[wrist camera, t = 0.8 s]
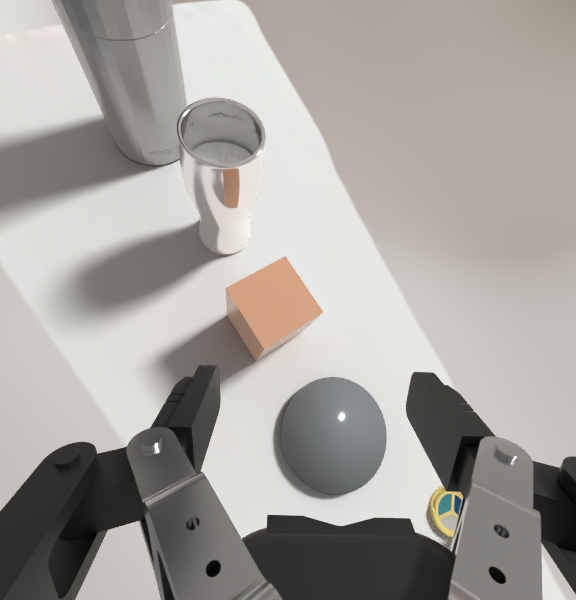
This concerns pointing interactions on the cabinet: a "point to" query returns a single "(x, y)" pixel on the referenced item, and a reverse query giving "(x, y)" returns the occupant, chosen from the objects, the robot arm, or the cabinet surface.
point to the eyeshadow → (445, 510)
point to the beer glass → (222, 169)
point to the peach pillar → (270, 307)
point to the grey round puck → (333, 435)
